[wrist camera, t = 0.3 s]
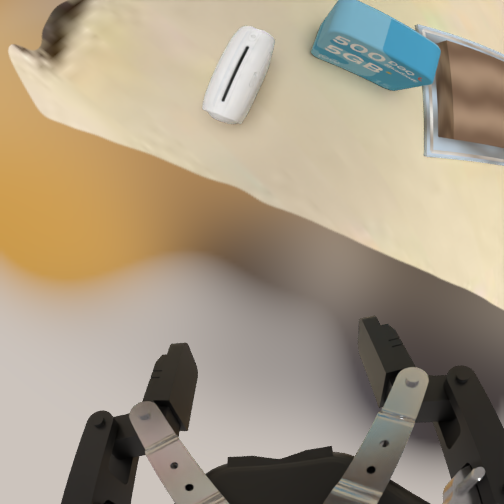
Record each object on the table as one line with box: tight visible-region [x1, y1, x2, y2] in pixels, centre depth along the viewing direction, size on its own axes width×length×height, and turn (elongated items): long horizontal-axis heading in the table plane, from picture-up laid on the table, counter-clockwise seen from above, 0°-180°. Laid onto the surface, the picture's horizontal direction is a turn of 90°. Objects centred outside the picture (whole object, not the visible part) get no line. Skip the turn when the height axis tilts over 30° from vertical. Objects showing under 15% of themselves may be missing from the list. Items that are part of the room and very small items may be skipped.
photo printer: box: [202, 26, 275, 124], centre depth 28 cm, size 10×4×12 cm, turn 157°
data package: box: [311, 0, 441, 91], centre depth 26 cm, size 12×4×12 cm, turn 72°
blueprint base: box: [415, 24, 504, 166], centre depth 30 cm, size 20×20×5 cm
